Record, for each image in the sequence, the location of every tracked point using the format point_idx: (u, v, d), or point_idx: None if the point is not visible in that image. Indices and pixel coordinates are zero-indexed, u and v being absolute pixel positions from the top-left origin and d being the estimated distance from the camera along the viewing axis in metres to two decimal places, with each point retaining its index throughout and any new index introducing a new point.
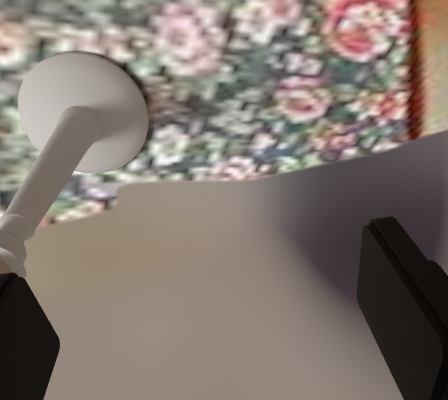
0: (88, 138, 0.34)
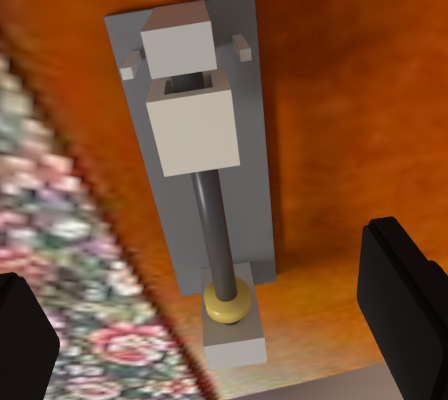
0: None
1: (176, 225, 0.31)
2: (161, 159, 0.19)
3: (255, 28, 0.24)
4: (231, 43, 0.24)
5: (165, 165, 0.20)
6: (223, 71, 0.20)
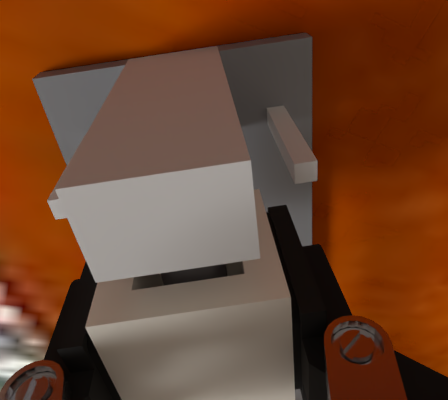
0: None
1: None
2: None
3: (308, 96, 0.13)
4: (265, 120, 0.14)
5: None
6: (259, 203, 0.10)
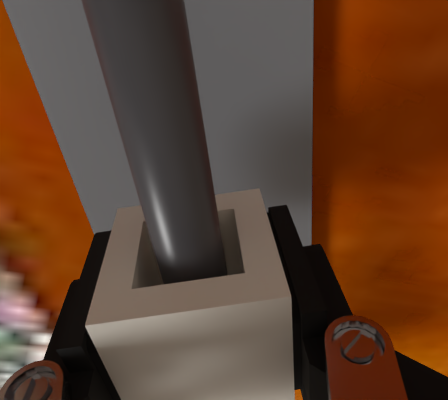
0: None
1: None
2: None
3: None
4: None
5: None
6: (260, 203, 0.10)
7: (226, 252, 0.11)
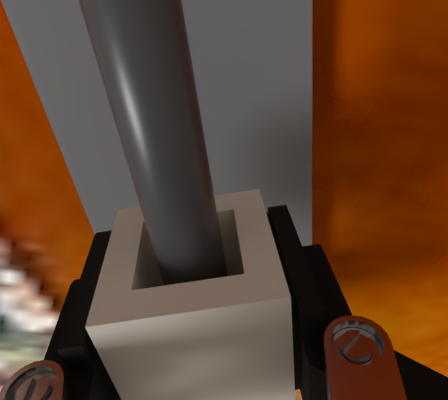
0: None
1: (111, 196, 0.15)
2: None
3: None
4: None
5: None
6: (259, 203, 0.10)
7: (226, 253, 0.11)
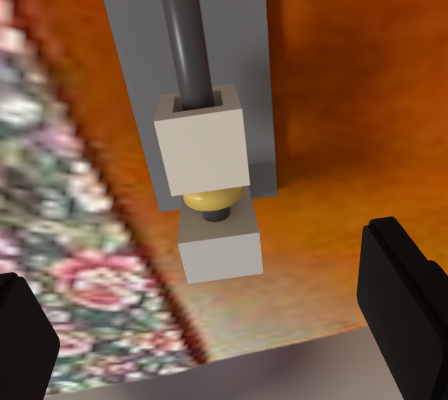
0: None
1: (150, 105, 0.25)
2: (168, 178, 0.19)
3: None
4: None
5: (172, 185, 0.19)
6: (233, 87, 0.20)
7: None
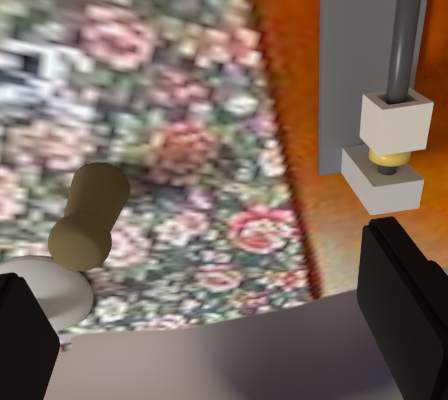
0: None
1: (333, 101, 0.37)
2: (379, 144, 0.31)
3: None
4: None
5: (380, 148, 0.31)
6: (412, 89, 0.32)
7: None
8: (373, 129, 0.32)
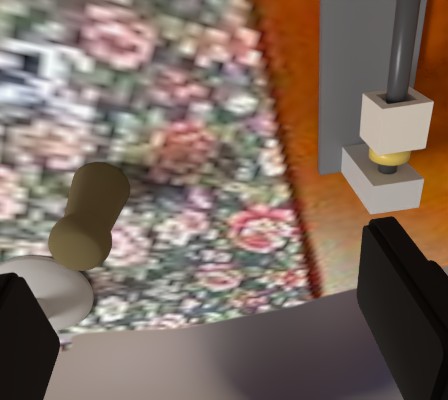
0: None
1: (333, 100, 0.37)
2: (379, 144, 0.31)
3: None
4: None
5: (380, 148, 0.31)
6: (412, 88, 0.32)
7: None
8: (373, 128, 0.32)
